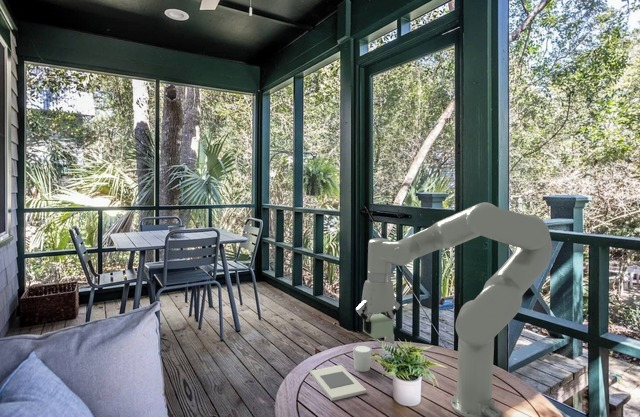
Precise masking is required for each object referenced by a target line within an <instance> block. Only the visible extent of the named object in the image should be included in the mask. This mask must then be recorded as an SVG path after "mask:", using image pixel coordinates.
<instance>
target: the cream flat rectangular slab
mask: <svg viewBox="0 0 640 417" xmlns="http://www.w3.org/2000/svg"><path fill="white" fill-rule="evenodd" d="M310 374H311V375H312V376H311V375H310ZM309 375H310V376H311V377H312V379H313V380H314V381H315V382H316V383H317V385H318V386H319V388H321V390H322V391H323V392H324V394H325V395H326V396H327V397H328V399H330V401H331V402H334V401H337V400H342V399H346V398H351V397H355V396H359V395H363V394H367V389H366V388H365V386H363V385H362V384H361V383H360V382H359V381H358V380H357V379H356V378H355V376H353V375H352V374H351V373H350V372H349V371H348V370H347V369H346V368H345V367H344V366H343V365H342V364H338V365H333V366H328V367H322V368H318V369H312V370H309Z"/></svg>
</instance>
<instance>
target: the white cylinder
mask: <svg viewBox="0 0 640 417" xmlns="http://www.w3.org/2000/svg"><path fill="white" fill-rule="evenodd" d="M372 354H373V348H372V347H370V346H368V345H365V344H357V345H355V346H353V348H352V355H353V357H352V358H353V367H354V370H356V371H357V372H361V373H362V372H368V371H370V370H371V364H372V363H371V362H372V357H373V356H372ZM370 357H371V358H370Z"/></svg>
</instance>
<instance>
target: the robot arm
mask: <svg viewBox="0 0 640 417" xmlns="http://www.w3.org/2000/svg"><path fill="white" fill-rule="evenodd" d="M480 236H482V237H485V238H487V239H491V240H493V241H495V242H500V243H503V244H506V245H508V246H513V247H515V249H514V251H513V252H512V254H511V255H510V257H508V259H507V260H506V261H505V263H504V264H502V266H501V267H500V268H499V269H498V270H497V271H496V272H495V273H494V274H493V275H492V276H491V277H490V278H489V279H487V281H485V284H484V286H483V289H482V290H481V291H480V293H479V294H478V295H477V296H476V298H474V299H472V300H469V301H467V302H465V303H463V305H462V306H461V308H460V310H459V312H458V314H457V318H456V321H455V332H456V334H457V336H458V343H457V346H458V347H457V368H456V369H457V370H456V371H457V374H456V393H455V394H454V395H453V396H451V399H450V406H451V407H452V409H453V411H455V412H456V413H457V414H458V415H460V416H462V417H500V416H501V415H502V410H501V409H499V408H497V406H496V400H495V399H494V398H493V378H494V377H493V376H494V372H493V371H494V355H495V354H494V351H495V337H496V336H497V335H498V334H499V333H500V332H501V331H502V330H503V329H504V328H505V327H506V326H507V325H508V324H509V323H510V322H512V320H513V319H514V318H515V317H516V316H517V314H518V313H519V311H520V309H521V307H522V304H523V296H524V294H525V293H526V291H528V289H530V287H531V286H532V285H533V284H535V282H536V280H537V279H538V278H540V276H541V275H542V273H543V272H544V271H545V270H546V268H547V267H548V265H549V263H550V260H551V257H552V248H553V247H552V246H553V245H552V244H553V243H552V238H551V234H550V229H549V226H548V224H547V223H546V222H545V221H544V220H543V219H542V218H541V217H539V216H537V215H535V214H523V213H519V212H517V211H512V210H509V209H506V208H501V207H498V206H496V205H494V204H493V203H490V202H487V201H486V202H480V203H477V204H475V205H473V206H470V207H467V208H465V209H464V210H462V211H458V212H457V213H454V214H453V215H450V216H448V217H445V218H442V219H441V220H438V221H436V222H435V223H433V224H432V225H430V226H429V227H427V228H426V229H423V230H421V231H417V232H416V233H414V234H411V235H409V236H407V237H404V238H402V239H400V240H397V241H391V240H390V239H388V238H381V237H379V238H377V237H376V238H371V239H369V240H368V243H367V244H368V247H367V250H368V252H367V278H366V279H367V280H365V281H364V284H363V288H362V294H361V295H362V296H361V303H359V304H358V306H357V307H356V308H355V311H356V312H357V313H358V315H359V317H360V318H362V320H363V319H364V331H365V332H367V333H368V334H370V333H371V322H370V318H371V316H372V315H374V314H382V313H385V316H387V317H388V318H390V319H392V320H393V319H394V318H395V315H396V313H397V312H398V310H399V309H400V307H401V304H400V303H399V302H398V301H397V300H396V299H395V288H394V282H393V280H392V278H393V277H394V276H395V273H394V271H392V264H393V265H395V266H399V267H400V266H407V265H409V264H410V263H411V262H413V261H414V260H416V259H419V258H420V257H423V256H425V255H427V254H431V253H433V252H436V251H438V250H442V249H450V248H454V247H456V246H458V245H461V244H464V243H465V242H469V241H470V240H473V239H476V238H478V237H480ZM363 310H364V311H363ZM364 331H363V332H364ZM365 332H364V333H365ZM367 333H366V334H367ZM368 334H367V335H368Z"/></svg>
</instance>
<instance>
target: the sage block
mask: <svg viewBox="0 0 640 417" xmlns="http://www.w3.org/2000/svg"><path fill="white" fill-rule="evenodd" d="M370 322H371V333H370V334H368V333H367V332H365V331H364V319H363V318H362V323H363V324H362V332H364V333H365V334H366V335H367V336H369V337H371V338H373V340H376V339H381V338H385V337H388V336H393V333H394V319H393V318H392V319H390V318H388V317H387V316H386V314H382V313H374V314H372V316H371V318H370Z"/></svg>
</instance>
